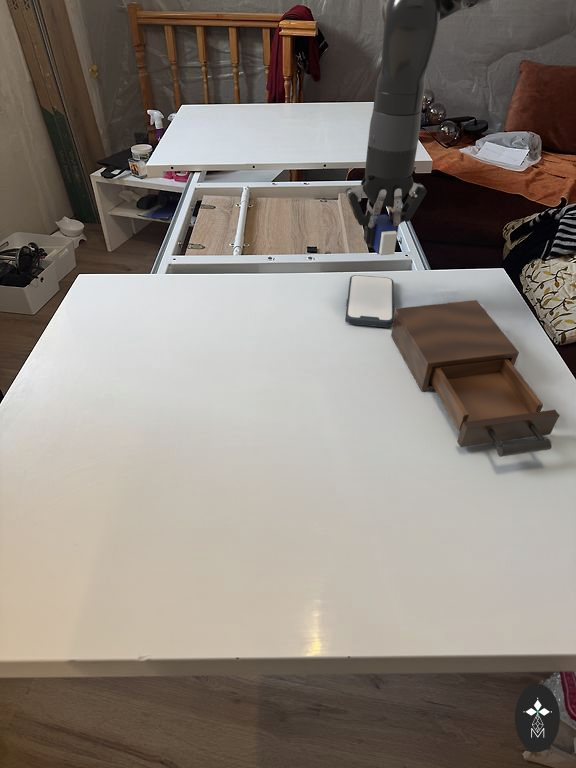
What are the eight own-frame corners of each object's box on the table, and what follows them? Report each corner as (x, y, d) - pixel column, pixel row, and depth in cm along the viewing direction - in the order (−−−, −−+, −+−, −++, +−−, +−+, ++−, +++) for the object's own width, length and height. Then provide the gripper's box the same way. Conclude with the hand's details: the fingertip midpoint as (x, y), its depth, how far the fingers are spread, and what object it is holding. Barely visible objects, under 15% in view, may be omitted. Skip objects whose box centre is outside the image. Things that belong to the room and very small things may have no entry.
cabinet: (508, 380, 85) (519, 352, 81) (421, 391, 83) (428, 363, 79) (469, 327, 96) (476, 299, 92) (390, 335, 94) (395, 308, 90)
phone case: (349, 280, 108) (343, 325, 96) (349, 273, 107) (344, 317, 95) (393, 284, 107) (393, 329, 95) (394, 277, 106) (394, 322, 94)
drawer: (567, 457, 72) (577, 437, 70) (473, 471, 70) (481, 452, 68) (504, 373, 85) (511, 354, 83) (424, 383, 83) (428, 364, 81)
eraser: (382, 237, 95) (386, 214, 92) (395, 255, 90) (399, 231, 87) (367, 239, 94) (370, 215, 91) (379, 257, 90) (382, 232, 87)
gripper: (427, 130, 85) (409, 231, 97) (342, 135, 83) (334, 237, 95) (445, 146, 80) (424, 251, 91) (355, 151, 78) (346, 258, 89)
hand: (379, 244), depth 93 cm, fingers closed on eraser, 3 cm apart
